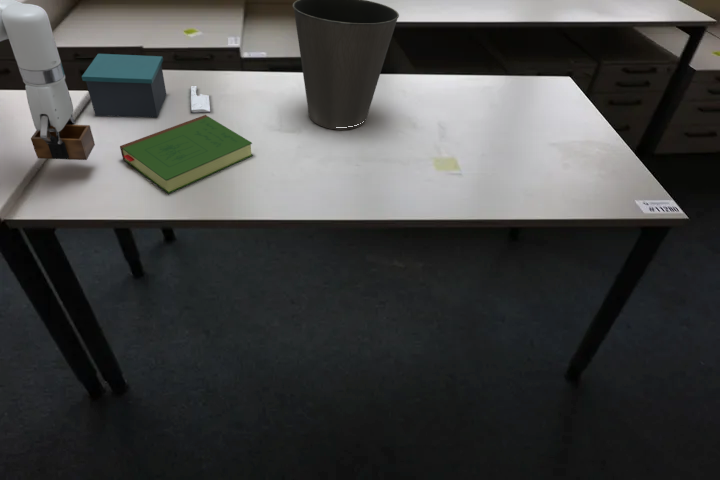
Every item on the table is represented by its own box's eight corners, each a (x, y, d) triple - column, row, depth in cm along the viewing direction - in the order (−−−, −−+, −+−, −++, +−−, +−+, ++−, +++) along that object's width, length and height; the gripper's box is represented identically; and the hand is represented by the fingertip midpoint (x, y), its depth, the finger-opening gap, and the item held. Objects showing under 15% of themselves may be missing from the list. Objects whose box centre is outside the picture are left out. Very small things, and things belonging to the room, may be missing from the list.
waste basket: (381, 102, 159) (394, 0, 139) (388, 136, 144) (404, 26, 124) (293, 97, 156) (294, -8, 137) (290, 131, 141) (290, 18, 121)
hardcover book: (206, 127, 139) (205, 114, 136) (252, 155, 130) (252, 142, 128) (120, 160, 123) (116, 147, 121) (165, 195, 115) (162, 181, 113)
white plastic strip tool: (208, 88, 156) (208, 85, 155) (210, 112, 145) (209, 108, 144) (191, 88, 154) (190, 85, 154) (191, 112, 144) (190, 109, 143)
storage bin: (92, 116, 138) (81, 76, 130) (107, 91, 149) (98, 53, 142) (158, 118, 140) (151, 79, 133) (168, 93, 151) (162, 56, 144)
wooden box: (37, 158, 112) (30, 138, 108) (48, 142, 117) (41, 123, 113) (86, 160, 113) (81, 140, 110) (95, 144, 118) (89, 125, 115)
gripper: (37, 53, 109) (61, 128, 120) (4, 90, 96) (33, 170, 108) (75, 55, 110) (95, 130, 122) (47, 92, 97) (72, 171, 109)
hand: (66, 148), depth 114 cm, fingers closed on wooden box, 6 cm apart
